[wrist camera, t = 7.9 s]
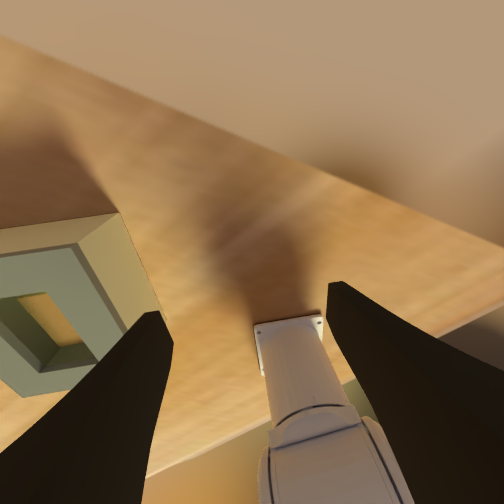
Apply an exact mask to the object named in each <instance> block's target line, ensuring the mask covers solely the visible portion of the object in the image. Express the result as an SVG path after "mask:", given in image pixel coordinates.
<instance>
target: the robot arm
mask: <svg viewBox="0 0 504 504" xmlns="http://www.w3.org/2000/svg"><path fill="white" fill-rule="evenodd" d="M326 319H327V322H328V324H329V327H330V329H331V332H332V334H333V336H334V338H335V341H336V342H337V344H338V346H339V348H340V350H341V351H342V353H343V355H344V357H345V359H346V360H347V362H348V364H349V366H350V367H351V369H352V371H353V373H354V375H355V376H356V378H357V380H358V382H359V383H360V385H361V387H362V389H363V390H364V392H365V394H366V396H367V398H368V400H369V402H370V404H371V405H372V408H373V410H374V412H375V414H376V416H377V418H378V421H379V422H380V425H381V426H380V425H379V424H378V423H377V422H375V421H373V420H371V419H370V418H369V417H368V416H364V417H362V418H361V419H360V417H359V415H358V413H357V411H356V409H355V407H354V405H350V403H349V401H348V399H347V397H346V394H345V392H344V390H343V388H342V386H341V383H340V381H339V379H338V377H337V375H336V372H335V370H334V368H333V366H332V364H331V362H330V359H329V357H328V355H327V353H326V351H325V349H324V346H323V344H322V334H323V320H324V318H323V316H322V315H321V314H317V315H311V316H305V317H299V318H293V319H287V320H280V321H274V322H268V323H262V324H257V325H255V326H254V333H255V339H256V346H257V352H258V358H259V365H260V371H261V375H262V376H265V381H266V387H267V394H268V400H269V406H270V413H271V419H272V425H273V429H271V430H269V431H268V435H269V443H270V445H268V446H265V447H264V448H263V450H262V454H261V457H260V460H259V463H258V473H257V476H258V477H257V482H258V498H259V504H504V371H502V370H500V369H498V368H496V367H494V366H491V365H489V364H487V363H485V362H483V361H480V360H478V359H476V358H474V357H472V356H470V355H468V354H466V353H464V352H462V351H460V350H458V349H456V348H454V347H452V346H450V345H448V344H446V343H444V342H442V341H440V340H438V339H437V338H435V337H433V336H431V335H429V334H427V333H425V332H424V331H422V330H420V329H418V328H417V327H415V326H413V325H411V324H410V323H408V322H406V321H405V320H403V319H401V318H400V317H398V316H396V315H395V314H393V313H391V312H390V311H388V310H387V309H385V308H383V307H382V306H380V305H379V304H377V303H376V302H374V301H372V300H371V299H369V298H368V297H366V296H365V295H363V294H362V293H360V292H359V291H357V290H356V289H354V288H353V287H351V286H350V285H348V284H347V283H345V282H343V281H339V282H333V283H328V296H327V309H326ZM318 321H319V322H318ZM258 331H259V332H258ZM173 345H174V342H173V340H172V338H171V335H170V333H169V331H168V329H167V327H166V324H165V322H164V320H163V318H162V315H161V313H160V311H159V310H157V311H151V312H145V313H144V314H143V315H142V316H141V317H140V318H139V319H138V320H137V321H136V322H135V323H134V324H133V325H132V326H131V327H130V329H129V330H128V331H127V332H126V333H125V334H124V335H123V336H122V337H121V339H120V340H119V341H118V342H117V343H116V344H115V345H114V346H113V347H112V348H111V349H110V350H109V351H108V353H107V354H106V355H105V356H104V357H103V358H102V359H101V360H100V361H99V362H98V363H97V364H96V365H95V366H94V367H93V368H92V369H91V370H90V371H89V372H88V373H87V374H86V375H85V376H84V377H83V378H82V379H81V380H80V381H79V382H78V383H77V385H76V386H75V387H74V388H73V389H72V390H71V391H70V392H68V393H67V394H66V395H65V396H64V397H63V398H62V399H61V400H60V401H59V402H58V403H57V404H56V405H55V406H54V407H53V408H52V409H50V410H49V411H48V412H47V413H46V414H45V415H44V416H43V417H42V418H41V419H39V420H38V421H37V422H36V423H35V424H34V425H33V426H32V427H31V428H29V429H28V430H27V431H26V432H25V433H24V434H23V435H21V436H20V437H19V438H18V439H17V440H15V441H14V442H13V443H12V444H11V445H10V446H8V447H7V448H6V449H5V450H4V451H2V452H1V453H0V504H141V501H142V495H143V488H144V481H145V476H146V471H147V465H148V459H149V453H150V448H151V443H152V439H153V434H154V430H155V426H156V422H157V418H158V414H159V411H160V407H161V403H162V399H163V395H164V391H165V388H166V384H167V380H168V376H169V372H170V367H171V361H172V353H173Z"/></svg>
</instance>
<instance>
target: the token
mask: <svg viewBox="0 0 504 504" xmlns="http://www.w3.org/2000/svg"><path fill="white" fill-rule="evenodd" d="M17 300H18V301H19V302H20V303H21V305H22V306H23V307H24V308H25V309H26V310H27V311H28V312H29V314H30V315H31V316H32V317H33V318H34V319H35V320H36V321H37V322H38V324H39V325H40V326H41V327H42V328H43V329H44V330H45V331H46V333H47V334H48V335H49V336H50V337H51V338H52V339H53V340H54V342H55V343H56V344H57V345H58V346H59V347H63V346H68V345H74V344H79V343H84V341H83V340H82V339H81V337H80V336H79V335H78V333H77V332H76V331H75V329H74V328H73V327H72V325H71V324H70V323H69V322H68V320H67V319H66V318H65V316H64V315H63V314H62V312H61V311H60V310H59V308H58V307H57V306H56V304H55V303H54V302H53V300H52V299H51V298H50V296H49V295H48V294H47V292H46V291H45V292H38V293H32V294H25V295H21V296H20V297H18V298H17Z"/></svg>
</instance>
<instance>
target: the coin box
mask: <svg viewBox="0 0 504 504" xmlns="http://www.w3.org/2000/svg"><path fill="white" fill-rule="evenodd" d="M45 291H46V292H47V294H48V295H49V296H50V298H51V299H52V300H53V302H54V303H55V304H56V306H57V307H58V308H59V310H60V311H61V312H62V314H63V315H64V316H65V318H66V319H67V320H68V322H69V323H70V324H71V325H72V327H73V328H74V329H75V331H76V332H77V333H78V335H79V336H80V337H81V339H82V340H83V341H84V343H79V344H74V345H68V346H63V347H59V346H58V345H57V344H56V343H55V342H54V340H53V339H52V338H51V337H50V336H49V335H48V334H47V333H46V331H45V330H44V329H43V328H42V327H41V326H40V325H39V324H38V322H37V321H36V320H35V319H34V318H33V317H32V316H31V315H30V314H29V312H28V311H27V310H26V309H25V308H24V307H23V306H22V305H21V303H20V302H19V301H18V300H17V298H18V297H20V296H21V295H25V294H32V293H38V292H45ZM157 310H159V311H160V313H161V315H162V318H163V320H164V322H165V324H166V321H167V320H166V318H165V316H164V314H163V311H162V309H161V307H160V304H159V302H158V300H157V298H156V295H155V293H154V291H153V288H152V286H151V284H150V282H149V279H148V277H147V275H146V272H145V270H144V268H143V266H142V263H141V261H140V259H139V256H138V254H137V252H136V250H135V247H134V245H133V243H132V240H131V238H130V236H129V233H128V231H127V229H126V227H125V224H124V222H123V220H122V217H121V215H120V213H112V214H105V215H98V216H91V217H83V218H76V219H69V220H62V221H55V222H48V223H41V224H34V225H27V226H20V227H13V228H6V229H0V379H1V380H2V381H3V382H4V383H5V384H7V385H8V386H9V387H10V388H11V389H13V390H14V391H15V392H16V393H17V394H19V395H20V396H21V397H22V398H25V397H30V396H36V395H42V394H48V393H54V392H60V391H66V390H72V389H73V388H74V387H75V386H76V385H77V383H78V382H79V381H80V380H81V379H82V378H83V377H84V376H85V375H86V374H87V373H88V372H89V371H90V370H91V369H92V368H93V367H94V366H95V365H96V364H97V363H98V362H99V361H100V360H101V359H102V358H103V357H104V356H105V355H106V354H107V353H108V351H109V350H110V349H111V348H112V347H113V346H114V345H115V344H116V343H117V342H118V341H119V340H120V339H121V337H122V336H123V335H124V334H125V333H126V332H127V331H128V330H129V329H130V327H131V326H132V325H133V324H134V323H135V322H136V321H137V320H138V319H139V318H140V317H141V316H142V315H143V314H144V313H145V312H151V311H157Z"/></svg>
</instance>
